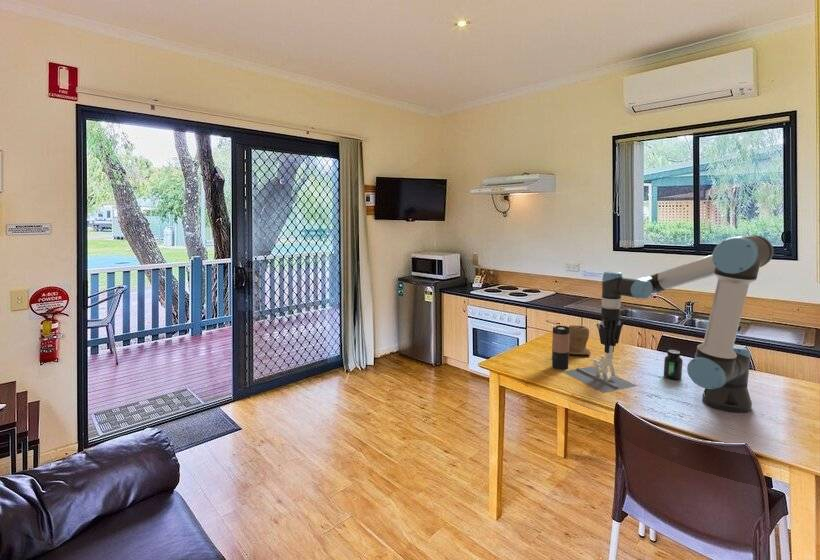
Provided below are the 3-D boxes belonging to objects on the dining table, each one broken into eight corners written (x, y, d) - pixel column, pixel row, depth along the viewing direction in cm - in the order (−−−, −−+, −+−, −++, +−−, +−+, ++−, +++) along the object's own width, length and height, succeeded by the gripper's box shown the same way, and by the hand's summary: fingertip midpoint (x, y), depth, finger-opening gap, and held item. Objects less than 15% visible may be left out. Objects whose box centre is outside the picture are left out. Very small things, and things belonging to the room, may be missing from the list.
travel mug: (569, 371, 201) (570, 329, 198) (552, 370, 202) (553, 329, 199) (567, 365, 208) (568, 325, 205) (550, 364, 210) (551, 325, 207)
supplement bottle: (672, 381, 185) (674, 354, 184) (659, 375, 192) (661, 349, 190) (685, 379, 187) (687, 352, 186) (671, 373, 194) (673, 348, 192)
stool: (616, 376, 187) (612, 358, 185) (606, 382, 185) (601, 364, 184) (606, 371, 193) (602, 354, 191) (596, 377, 191) (591, 360, 189)
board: (637, 386, 181) (637, 383, 181) (603, 393, 175) (603, 390, 175) (593, 366, 205) (593, 364, 205) (561, 372, 200) (561, 369, 199)
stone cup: (588, 350, 230) (589, 323, 228) (592, 357, 218) (593, 329, 216) (558, 349, 233) (559, 322, 231) (561, 356, 222) (561, 328, 220)
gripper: (616, 304, 190) (614, 355, 194) (592, 307, 186) (590, 358, 190) (629, 307, 183) (627, 360, 187) (605, 310, 179) (603, 364, 183)
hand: (608, 359), depth 188 cm, fingers closed
